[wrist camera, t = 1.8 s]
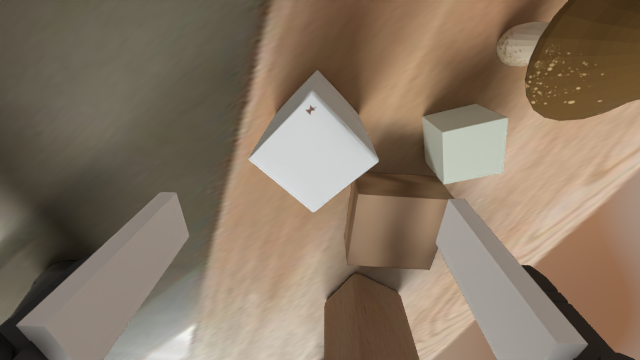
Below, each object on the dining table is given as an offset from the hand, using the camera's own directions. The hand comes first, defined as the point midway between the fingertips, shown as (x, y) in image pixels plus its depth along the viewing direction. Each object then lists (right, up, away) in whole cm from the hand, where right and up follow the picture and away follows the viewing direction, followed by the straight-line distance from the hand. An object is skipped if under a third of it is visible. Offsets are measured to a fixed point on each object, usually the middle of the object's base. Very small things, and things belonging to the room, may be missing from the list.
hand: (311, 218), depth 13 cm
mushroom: (+20, +16, +14) cm, 29 cm away
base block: (+10, -2, +24) cm, 26 cm away
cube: (+16, +8, +19) cm, 26 cm away
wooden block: (+8, -19, +33) cm, 39 cm away
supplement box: (0, +10, +18) cm, 20 cm away
